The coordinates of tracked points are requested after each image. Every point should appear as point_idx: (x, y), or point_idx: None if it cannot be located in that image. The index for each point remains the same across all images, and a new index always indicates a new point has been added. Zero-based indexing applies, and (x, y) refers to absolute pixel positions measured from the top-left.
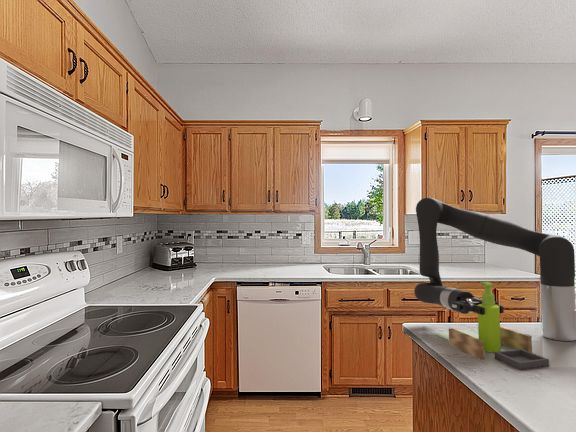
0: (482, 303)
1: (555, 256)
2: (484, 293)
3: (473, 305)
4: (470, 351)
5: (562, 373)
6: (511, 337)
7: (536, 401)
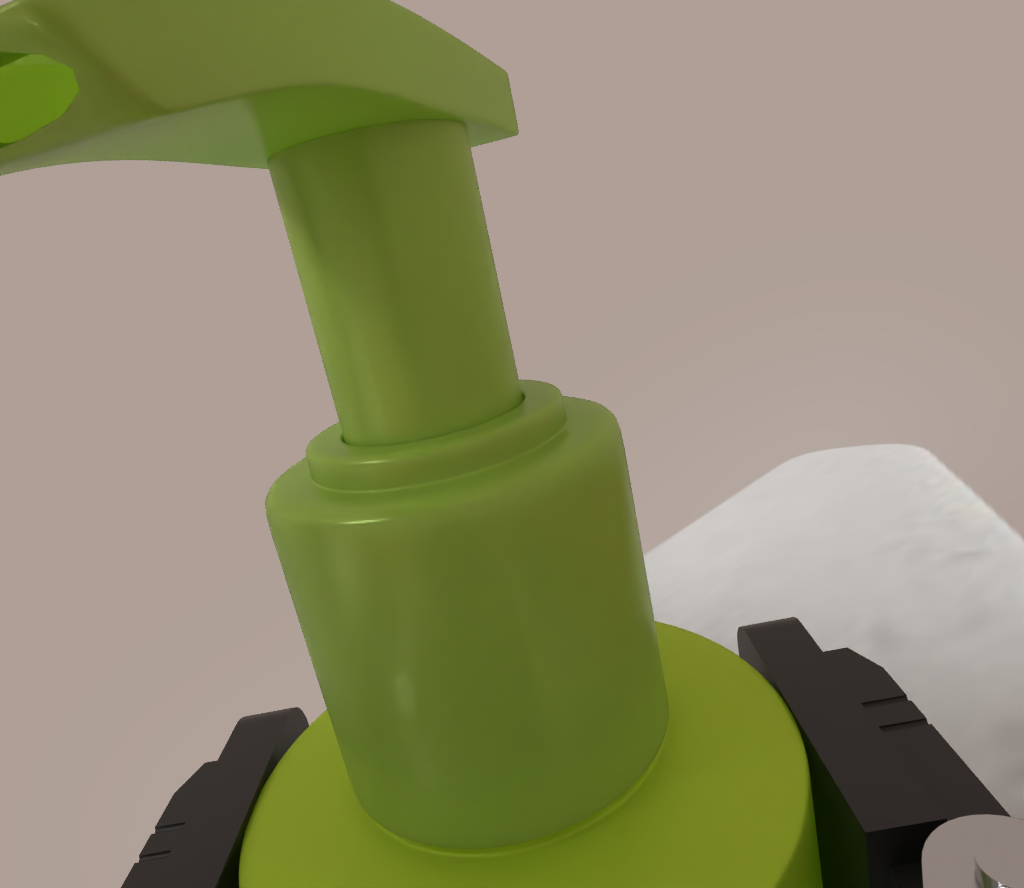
0: (666, 707)
1: None
2: (560, 400)
3: (970, 834)
4: None
5: None
6: None
7: (823, 516)
